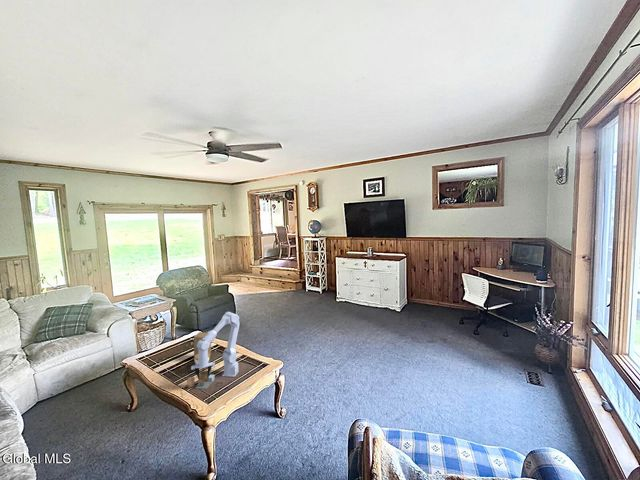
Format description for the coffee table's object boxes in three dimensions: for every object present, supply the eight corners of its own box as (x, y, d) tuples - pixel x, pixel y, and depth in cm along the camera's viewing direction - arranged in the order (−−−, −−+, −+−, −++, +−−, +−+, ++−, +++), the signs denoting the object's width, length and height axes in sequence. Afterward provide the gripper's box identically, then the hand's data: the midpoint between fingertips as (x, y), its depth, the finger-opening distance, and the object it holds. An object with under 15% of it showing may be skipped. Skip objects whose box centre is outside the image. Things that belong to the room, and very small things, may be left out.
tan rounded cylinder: (195, 384, 189) (195, 377, 189) (192, 388, 185) (192, 380, 184) (189, 383, 190) (189, 376, 189) (186, 387, 185) (185, 380, 185)
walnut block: (207, 377, 191) (207, 370, 191) (207, 381, 186) (207, 374, 186) (199, 379, 189) (199, 372, 189) (199, 383, 184) (199, 375, 184)
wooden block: (211, 355, 231) (211, 332, 230) (206, 361, 221) (205, 336, 220) (199, 355, 231) (199, 331, 230) (193, 361, 221) (193, 336, 220)
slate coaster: (212, 382, 191) (212, 381, 191) (206, 389, 183) (206, 388, 183) (201, 381, 192) (201, 381, 192) (194, 388, 184) (194, 387, 184)
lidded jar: (193, 369, 208) (193, 357, 208) (195, 362, 219) (195, 351, 218) (208, 367, 211) (208, 355, 211) (210, 361, 222) (210, 349, 221)
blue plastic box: (214, 379, 196) (214, 374, 196) (211, 382, 192) (211, 377, 192) (210, 378, 196) (210, 374, 196) (207, 381, 192) (207, 377, 192)
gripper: (214, 354, 193) (215, 373, 194) (191, 357, 188) (192, 377, 189) (214, 358, 187) (215, 378, 187) (190, 362, 182) (191, 382, 182)
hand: (203, 378), depth 188 cm, fingers closed on walnut block, 5 cm apart
